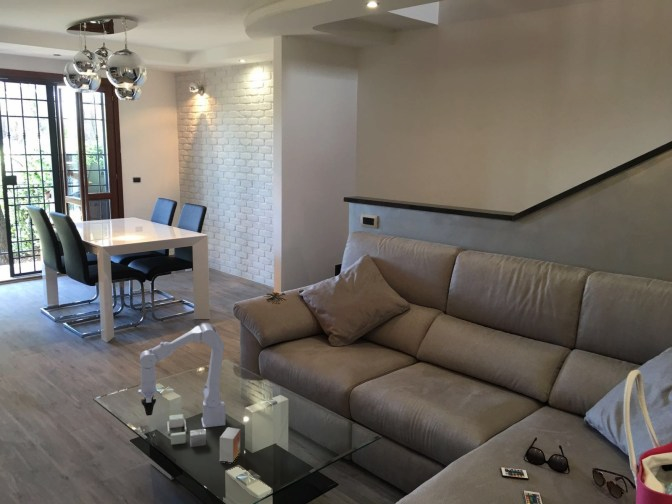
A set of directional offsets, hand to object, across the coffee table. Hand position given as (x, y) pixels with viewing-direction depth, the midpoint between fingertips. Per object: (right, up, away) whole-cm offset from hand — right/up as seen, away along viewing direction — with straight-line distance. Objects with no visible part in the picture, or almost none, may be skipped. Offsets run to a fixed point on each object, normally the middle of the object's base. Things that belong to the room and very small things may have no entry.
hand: (149, 410), depth 231 cm
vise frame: (+11, -10, +2) cm, 15 cm away
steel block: (+21, -12, -4) cm, 25 cm away
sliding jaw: (+9, -9, +8) cm, 15 cm away
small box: (+36, -15, -13) cm, 41 cm away
